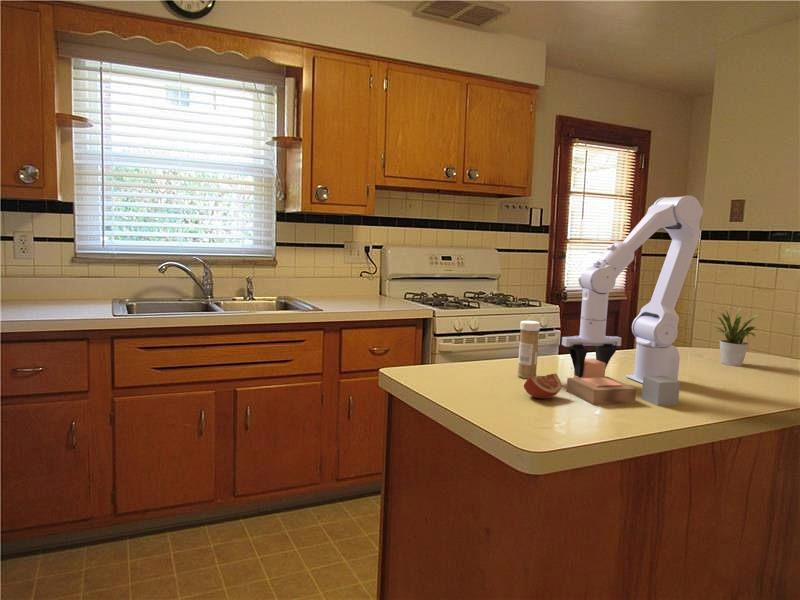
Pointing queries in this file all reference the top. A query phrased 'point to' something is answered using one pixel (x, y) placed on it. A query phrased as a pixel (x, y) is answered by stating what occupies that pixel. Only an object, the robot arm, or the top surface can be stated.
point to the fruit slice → (543, 386)
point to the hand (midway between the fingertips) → (589, 375)
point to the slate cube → (660, 390)
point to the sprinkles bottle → (528, 349)
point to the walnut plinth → (601, 390)
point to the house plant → (734, 340)
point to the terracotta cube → (593, 368)
